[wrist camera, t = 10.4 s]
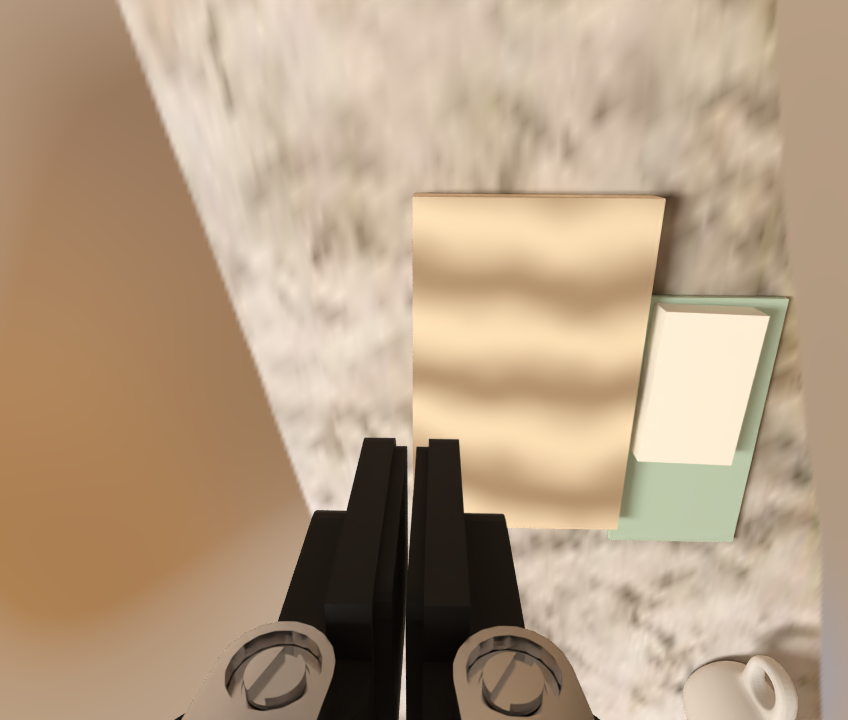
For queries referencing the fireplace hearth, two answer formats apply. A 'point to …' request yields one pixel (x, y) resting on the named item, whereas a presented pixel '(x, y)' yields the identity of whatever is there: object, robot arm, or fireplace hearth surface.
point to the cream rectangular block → (696, 382)
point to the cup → (740, 691)
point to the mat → (699, 483)
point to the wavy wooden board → (533, 346)
